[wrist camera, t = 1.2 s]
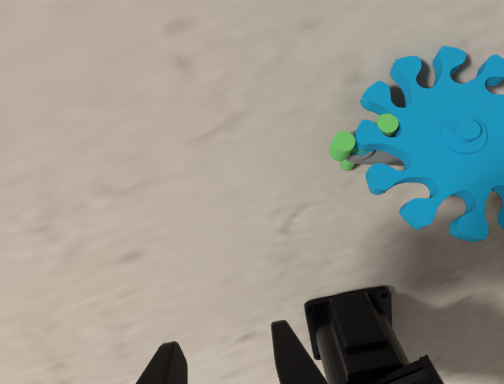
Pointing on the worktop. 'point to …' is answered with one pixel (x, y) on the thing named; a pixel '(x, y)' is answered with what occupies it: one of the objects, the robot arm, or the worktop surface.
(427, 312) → the worktop surface
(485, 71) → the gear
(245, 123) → the worktop surface
